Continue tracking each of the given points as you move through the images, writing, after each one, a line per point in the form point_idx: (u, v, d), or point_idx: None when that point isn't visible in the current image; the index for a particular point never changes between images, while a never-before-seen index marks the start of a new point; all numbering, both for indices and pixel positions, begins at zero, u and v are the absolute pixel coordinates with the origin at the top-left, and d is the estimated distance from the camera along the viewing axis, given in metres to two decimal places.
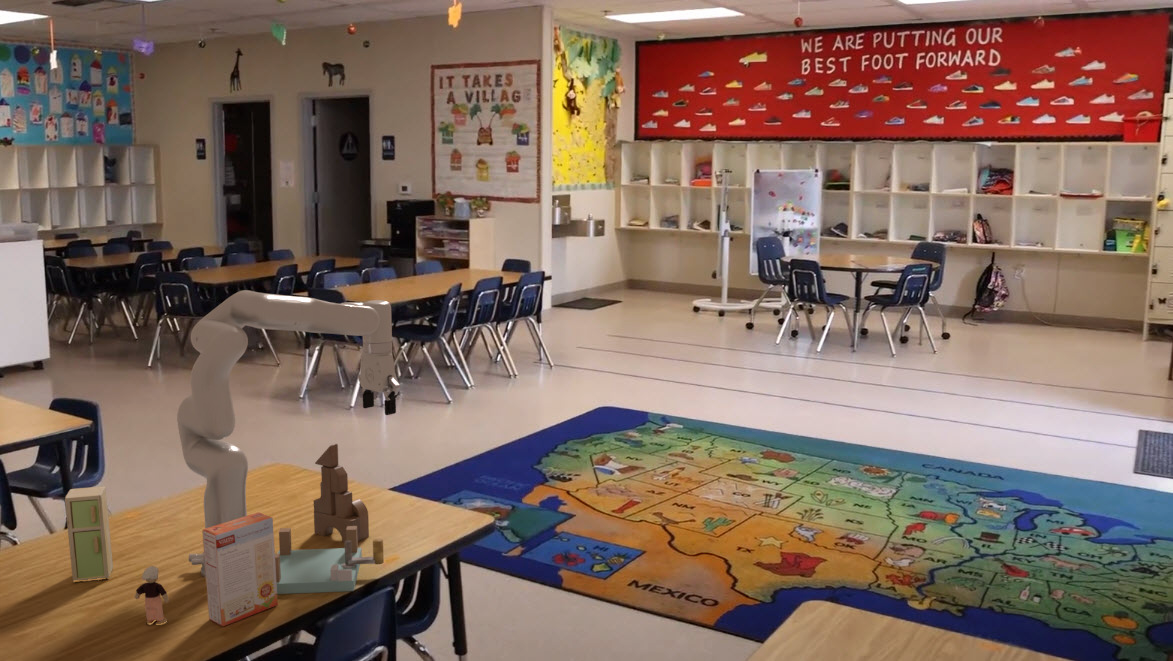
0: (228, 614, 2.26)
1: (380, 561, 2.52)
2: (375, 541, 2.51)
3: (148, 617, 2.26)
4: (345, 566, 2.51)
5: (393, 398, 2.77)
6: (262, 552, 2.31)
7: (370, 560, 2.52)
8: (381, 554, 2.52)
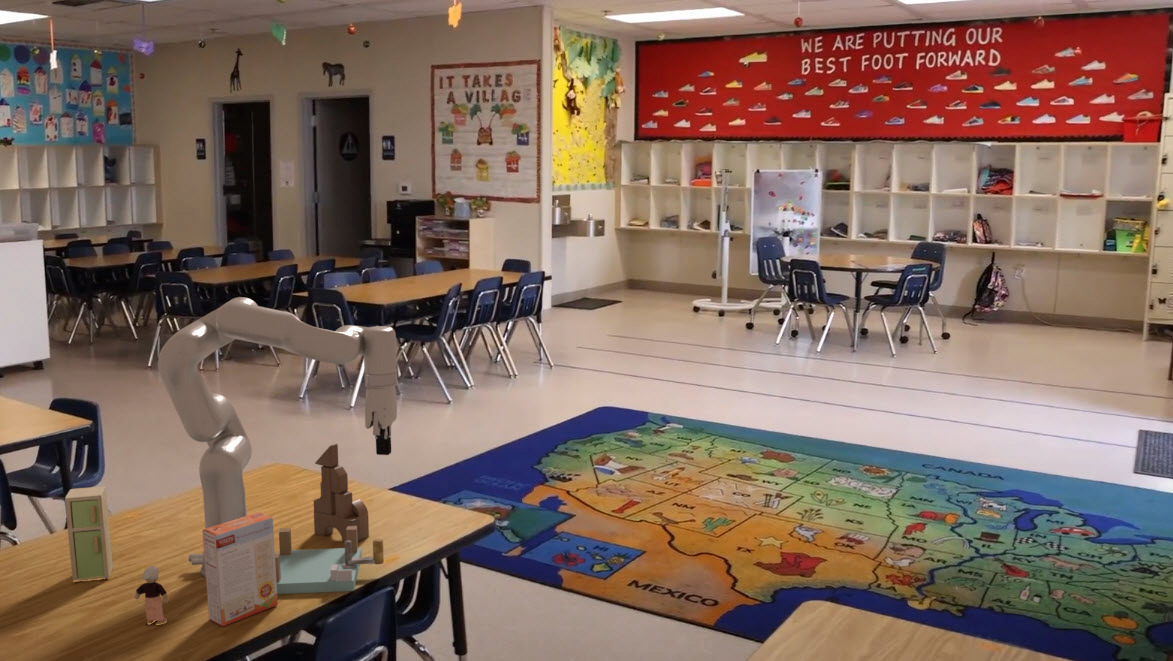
0: (228, 614, 2.26)
1: (380, 561, 2.52)
2: (375, 541, 2.51)
3: (148, 617, 2.26)
4: (345, 566, 2.51)
5: (380, 438, 2.50)
6: (262, 552, 2.31)
7: (370, 560, 2.52)
8: (381, 554, 2.52)
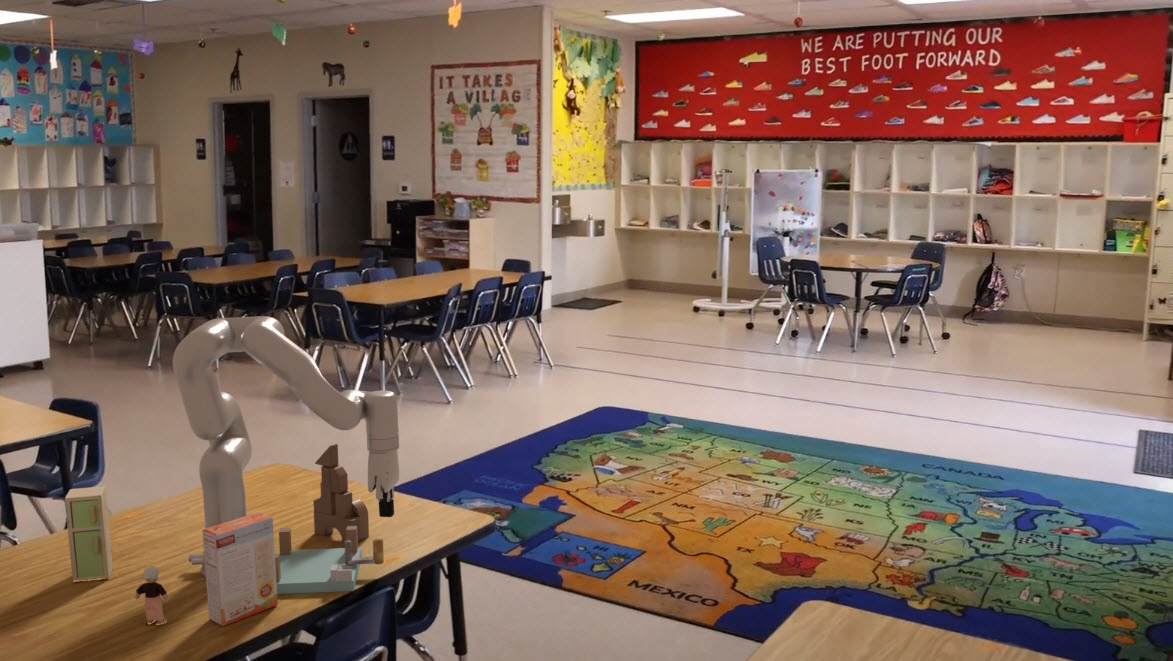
0: (228, 614, 2.26)
1: (380, 561, 2.52)
2: (375, 541, 2.51)
3: (148, 617, 2.26)
4: (345, 566, 2.51)
5: (383, 500, 2.53)
6: (263, 552, 2.31)
7: (370, 560, 2.52)
8: (381, 554, 2.52)
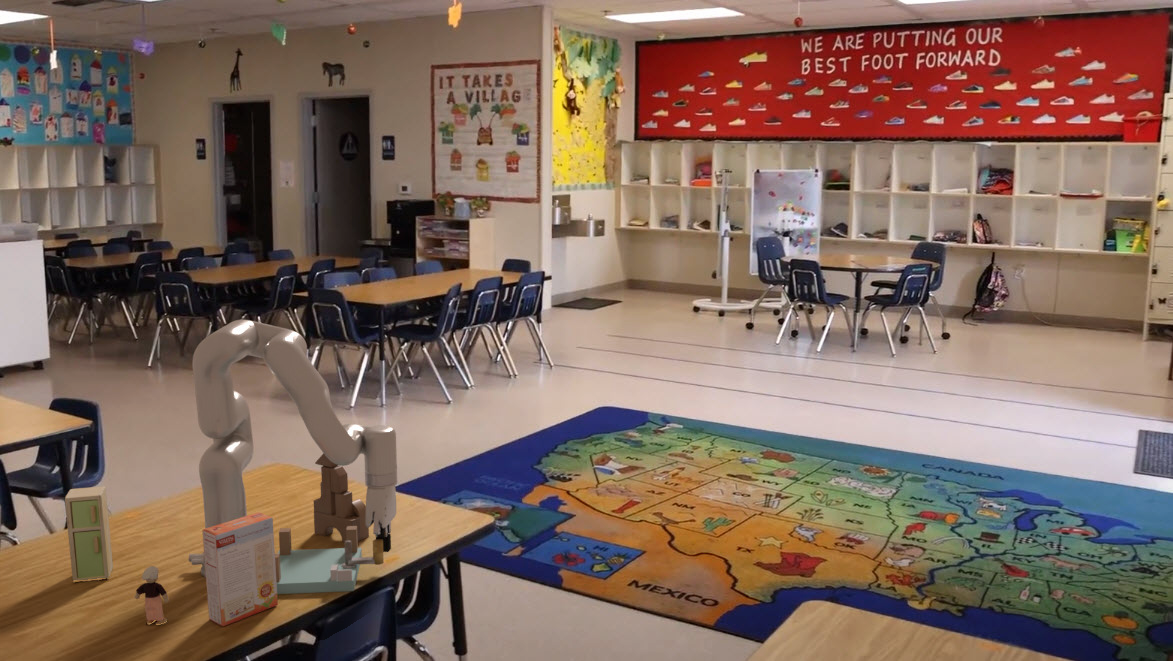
0: (228, 614, 2.26)
1: (380, 561, 2.51)
2: (375, 541, 2.51)
3: (148, 617, 2.26)
4: (345, 566, 2.51)
5: (380, 535, 2.53)
6: (262, 552, 2.31)
7: (370, 560, 2.51)
8: (381, 554, 2.51)
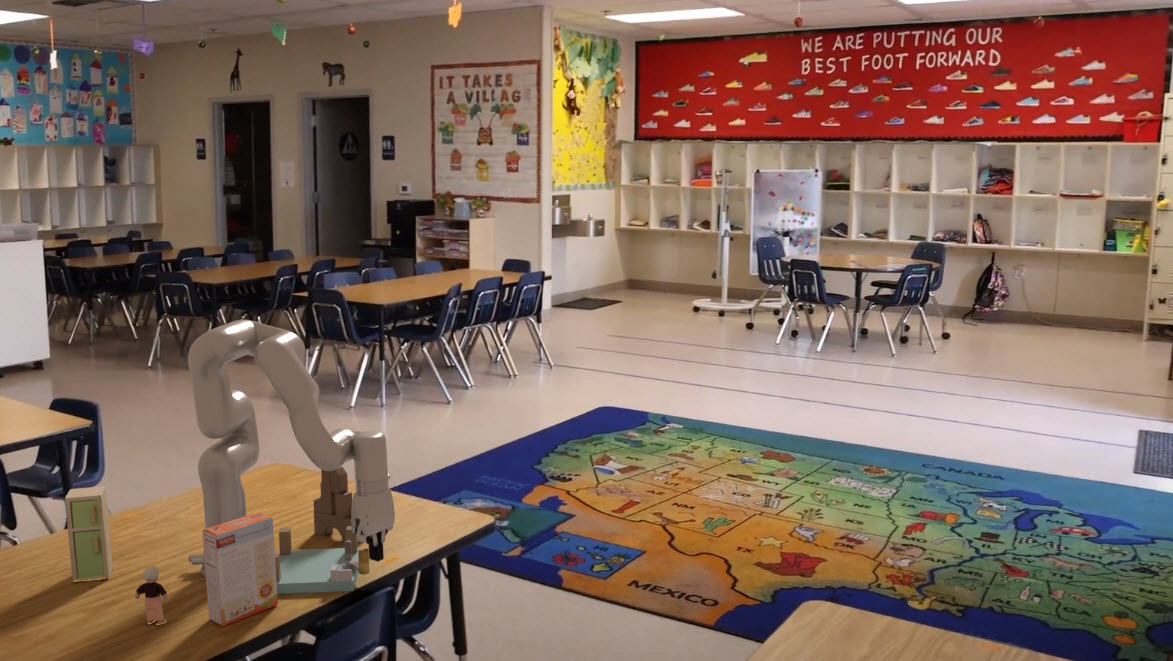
0: (228, 614, 2.26)
1: (361, 571, 2.46)
2: (360, 550, 2.46)
3: (148, 617, 2.26)
4: (345, 566, 2.51)
5: (369, 544, 2.47)
6: (262, 552, 2.31)
7: (356, 567, 2.47)
8: (362, 565, 2.45)
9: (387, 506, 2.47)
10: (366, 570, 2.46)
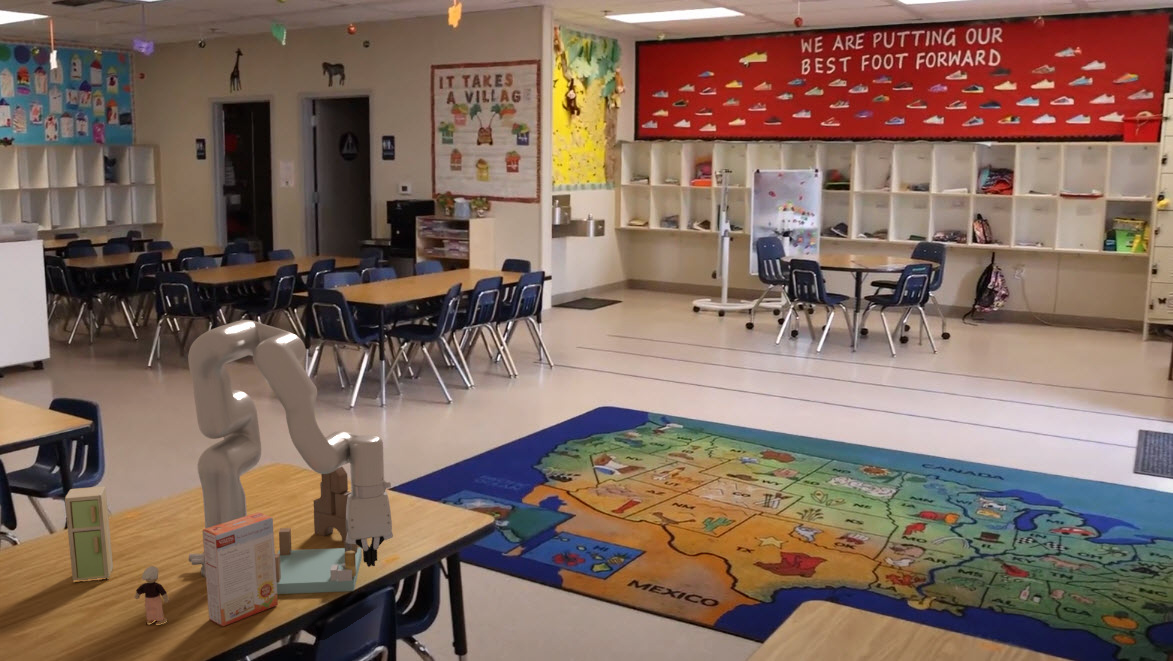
0: (228, 614, 2.26)
1: None
2: (347, 552, 2.45)
3: (148, 617, 2.26)
4: None
5: (361, 547, 2.46)
6: (262, 552, 2.31)
7: None
8: (346, 567, 2.44)
9: (379, 514, 2.43)
10: None
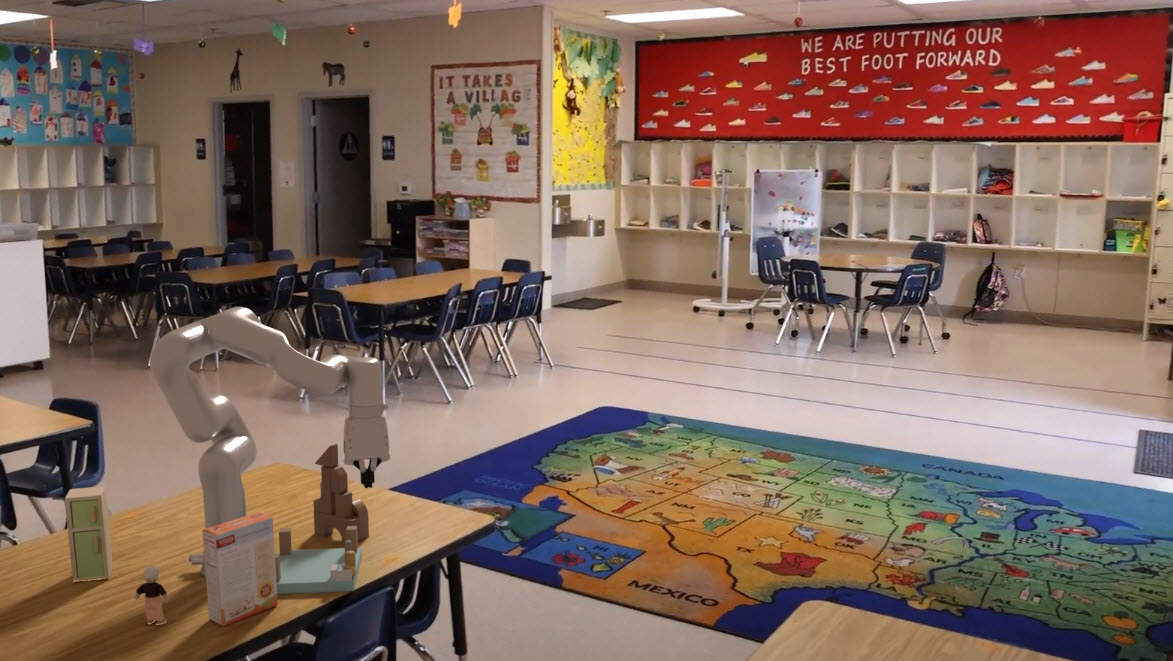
0: (228, 614, 2.26)
1: None
2: (347, 552, 2.45)
3: (148, 617, 2.26)
4: None
5: (359, 469, 2.47)
6: (262, 552, 2.31)
7: None
8: (346, 567, 2.44)
9: (377, 435, 2.45)
10: None
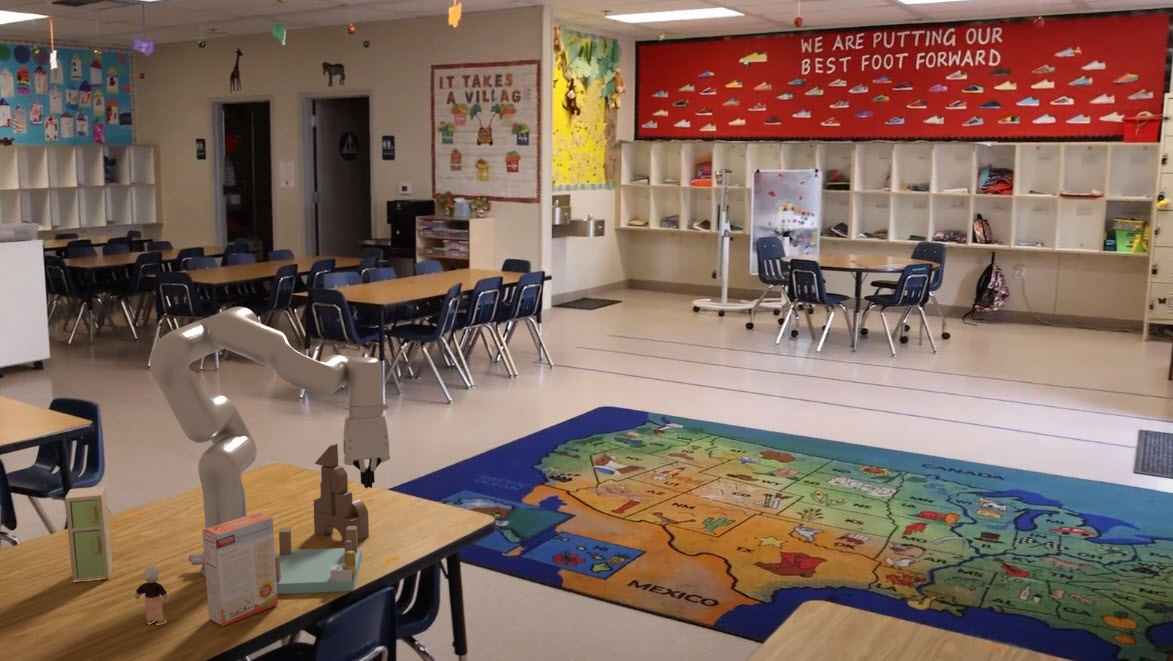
0: (228, 614, 2.26)
1: None
2: (347, 552, 2.45)
3: (148, 617, 2.26)
4: None
5: (359, 469, 2.47)
6: (262, 552, 2.31)
7: None
8: (346, 567, 2.44)
9: (377, 435, 2.45)
10: None
